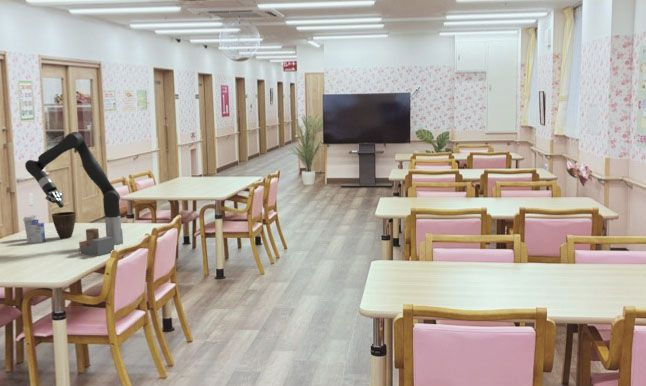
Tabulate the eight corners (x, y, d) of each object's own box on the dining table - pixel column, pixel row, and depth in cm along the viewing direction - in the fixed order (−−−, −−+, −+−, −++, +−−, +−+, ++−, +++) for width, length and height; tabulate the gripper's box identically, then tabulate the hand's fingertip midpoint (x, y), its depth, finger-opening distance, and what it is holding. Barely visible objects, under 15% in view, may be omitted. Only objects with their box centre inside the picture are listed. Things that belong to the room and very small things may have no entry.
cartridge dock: (81, 253, 427) (80, 238, 426) (96, 249, 437) (96, 235, 436) (98, 256, 419) (97, 240, 418) (114, 252, 430) (113, 237, 428)
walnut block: (93, 247, 433) (92, 228, 432) (99, 248, 431) (98, 228, 429) (87, 249, 429) (85, 229, 428) (92, 250, 426) (91, 230, 425)
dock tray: (79, 251, 428) (79, 241, 427) (94, 248, 437) (93, 238, 437) (91, 253, 423) (90, 243, 422) (106, 249, 432) (105, 239, 432)
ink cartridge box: (45, 241, 468) (44, 219, 466) (42, 243, 463) (40, 220, 461) (30, 241, 468) (28, 219, 466) (27, 243, 463) (25, 220, 461)
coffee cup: (34, 240, 472) (33, 217, 470) (21, 240, 474) (19, 217, 472) (43, 237, 481) (41, 215, 479) (30, 237, 483) (28, 215, 481)
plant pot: (64, 240, 469) (62, 216, 467) (48, 238, 477) (46, 214, 475) (82, 236, 482) (80, 212, 480) (66, 234, 489) (65, 211, 487)
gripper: (40, 182, 438) (55, 204, 433) (58, 180, 449) (73, 201, 444) (35, 191, 441) (50, 212, 437) (53, 188, 452) (68, 209, 448)
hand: (62, 206), depth 440 cm, fingers closed
